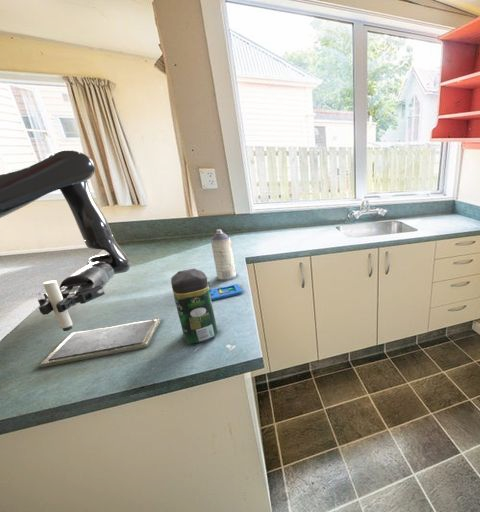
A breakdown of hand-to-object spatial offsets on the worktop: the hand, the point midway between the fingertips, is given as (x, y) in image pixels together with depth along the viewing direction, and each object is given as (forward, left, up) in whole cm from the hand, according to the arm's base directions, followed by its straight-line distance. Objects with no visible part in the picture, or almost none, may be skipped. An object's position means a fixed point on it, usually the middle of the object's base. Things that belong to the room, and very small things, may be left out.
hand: (51, 309), depth 69 cm
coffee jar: (+29, -3, -12) cm, 32 cm away
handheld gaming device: (+31, +24, -12) cm, 41 cm away
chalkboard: (+7, +3, -12) cm, 14 cm away
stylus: (0, +3, -7) cm, 8 cm away
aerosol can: (+33, +41, -12) cm, 54 cm away
